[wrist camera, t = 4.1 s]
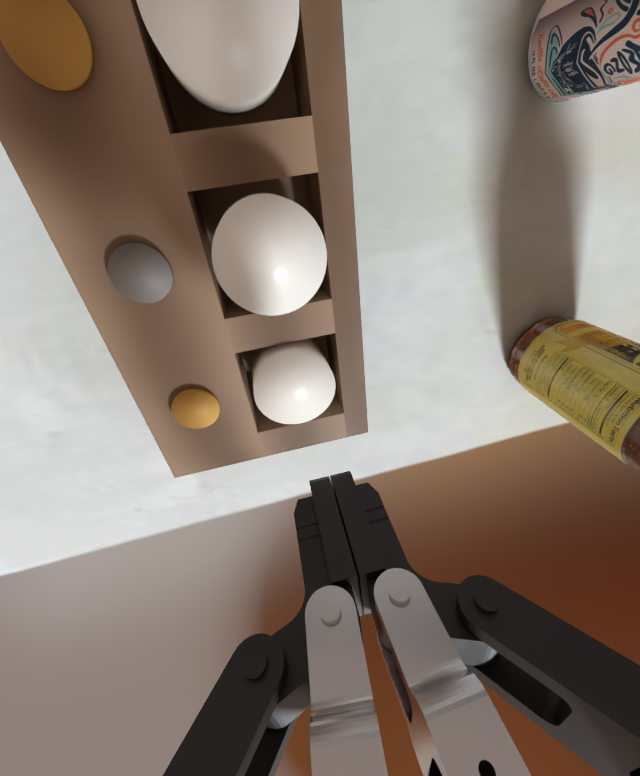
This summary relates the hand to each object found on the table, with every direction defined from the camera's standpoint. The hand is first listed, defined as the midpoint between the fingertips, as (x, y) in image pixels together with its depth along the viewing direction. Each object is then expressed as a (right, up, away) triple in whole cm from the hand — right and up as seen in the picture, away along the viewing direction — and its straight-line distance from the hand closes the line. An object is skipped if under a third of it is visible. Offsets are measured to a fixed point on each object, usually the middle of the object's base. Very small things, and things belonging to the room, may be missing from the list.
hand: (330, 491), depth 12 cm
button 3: (-2, +5, +8) cm, 10 cm away
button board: (-6, +12, +6) cm, 15 cm away
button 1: (-4, +16, -1) cm, 16 cm away
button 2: (-3, +10, +3) cm, 11 cm away
